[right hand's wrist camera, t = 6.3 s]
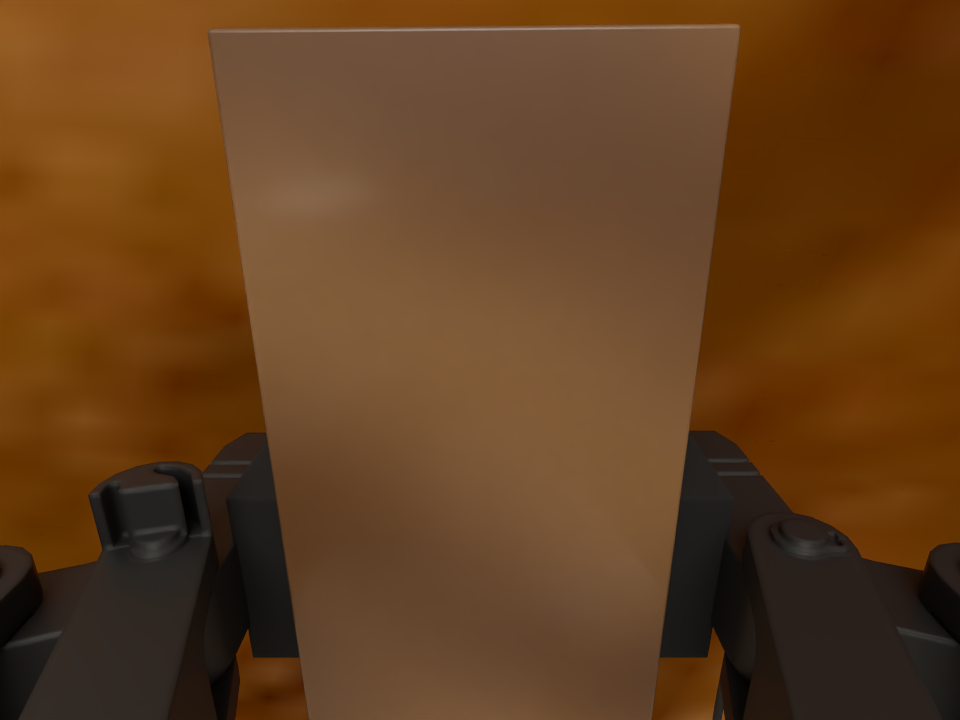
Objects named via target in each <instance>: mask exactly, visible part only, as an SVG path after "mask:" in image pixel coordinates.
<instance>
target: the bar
mask: <svg viewBox="0 0 960 720" xmlns="http://www.w3.org/2000/svg"><path fill="white" fill-rule="evenodd" d="M740 31H741V28H740V25H738V24H632V25H524V26H416V27H308V28H212V29H210V30H208V38H209V45H210V52H211V59H212V65H213V72H214V79H215V86H216V93H217V99H218V106H219V113H220V120H221V127H222V133H223V140H224V147H225V154H226V160H227V167H228V174H229V181H230V188H231V194H232V201H233V208H234V215H235V222H236V228H237V235H238V242H239V249H240V256H241V262H242V269H243V276H244V283H245V290H246V296H247V303H248V310H249V317H250V324H251V330H252V337H253V344H254V351H255V358H256V364H257V371H258V378H259V385H260V392H261V398H262V405H263V412H264V419H265V426H266V432H267V439H268V446H269V453H270V459H271V466H272V473H273V480H274V487H275V493H276V500H277V507H278V514H279V521H280V527H281V534H282V541H283V548H284V555H285V561H286V568H287V575H288V582H289V589H290V595H291V602H292V609H293V616H294V623H295V629H296V636H297V643H298V650H299V657H300V663H301V670H302V677H303V684H304V691H305V697H306V704H307V711H308V718H309V720H652V713H653V705H654V697H655V689H656V682H657V674H658V666H659V658H660V651H661V643H662V635H663V627H664V620H665V612H666V604H667V596H668V589H669V581H670V573H671V565H672V558H673V550H674V542H675V534H676V527H677V519H678V511H679V503H680V496H681V488H682V480H683V472H684V465H685V457H686V449H687V441H688V434H689V426H690V418H691V410H692V403H693V395H694V387H695V379H696V372H697V364H698V356H699V349H700V341H701V333H702V325H703V318H704V310H705V302H706V294H707V287H708V279H709V271H710V263H711V256H712V248H713V240H714V232H715V225H716V217H717V209H718V201H719V194H720V186H721V178H722V170H723V163H724V155H725V147H726V139H727V132H728V124H729V116H730V108H731V101H732V93H733V85H734V77H735V70H736V62H737V54H738V46H739V39H740Z"/></svg>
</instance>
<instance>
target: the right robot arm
mask: <svg viewBox="0 0 960 720" xmlns="http://www.w3.org/2000/svg"><path fill="white" fill-rule="evenodd" d="M88 497H89V500H90V504H91V508H92V512H93V515H94V519H95V523H96V526H97V530H98V534H99V538H100V541H101V545H102V549H103V550H102V552H101V554H100V556H99V558H98V560H97V561H95V562H92V563H88V564H83V565H78V566H73V567H68V568H63V569H58V570H53V571H48V572H43V573H37V570H36V567H35V563H34V560H33V557H32V554H30V553H29V552H28V551H26V550H25V549H24V548H22V547H15V546H7V545H4V546H0V720H235V716H236V708H237V700H238V692H239V684H240V677H239V669H238V664H237V658H236V653H237V651H238V649H239V647H240V645H241V642H242V640H243V638H244V636H245V634H246V632H247V630H249V636H250V642H251V647H252V653H253V657H299V650H298V643H297V636H296V629H295V623H294V616H293V609H292V602H291V595H290V589H289V582H288V575H287V568H286V561H285V555H284V548H283V541H282V534H281V527H280V521H279V514H278V507H277V500H276V493H275V487H274V480H273V473H272V466H271V459H270V453H269V446H268V439H267V433H246V434H244V435H242V436H241V437H239V438H237V439H236V440H234V441H232V442H231V443H229V444H227V445H226V446H225V447H224V448H223V449H222V450H221V451H220V453H219V454H218V455H217V456H216V457H215V459H214V460H213V461H212V465H209V466H208V467H207V468H206V470H205V471H204V472H203V473H202V471H201V470H199V469H198V468H197V467H195V466H194V465H193V464H188V463H183V462H178V461H175V462H156V463H151V464H146V465H141V466H137V467H134V468H131V469H128V470H126V471H123V472H120V473H117V474H115V475H114V476H112V477H110V478H108V479H107V480H105V481H103V482H102V483H100V484H99V485H98V486H97V487H96V488H95V489H94V490H93V491H92V492H91V493H90V494H89V495H88ZM712 628H714V630H715V632H716V634H717V636H718V638H719V640H720V642H721V644H722V647H723V649H724V651H725V653H724V658H723V664H722V669H721V674H720V680H719V685H718V690H717V696H716V701H715V706H714V713H713V720H721V719H722V714H723V709H724V714H725V720H960V543H949V544H942V545H938V546H937V547H936V548H934V549H933V550H932V551H930V553H929V556H928V559H927V563H926V566H925V569H924V571H921V570H916V569H911V568H906V567H901V566H896V565H891V564H886V563H881V562H876V561H872V560H868V559H864V558H862V557H861V555H860V553H859V551H858V549H857V548H856V547H855V546H854V544H853V543H852V542H851V541H850V539H849V538H848V537H847V536H846V535H844V534H843V533H841V532H840V531H838V530H837V529H835V528H834V527H832V526H831V525H829V524H826V523H824V522H822V521H819V520H817V519H814V518H812V517H809V516H804V515H800V514H796V513H793V512H792V511H791V510H790V508H789V507H788V506H787V505H786V504H785V502H784V501H783V500H782V499H781V498H780V496H779V495H778V494H777V493H776V492H775V490H774V489H773V488H772V487H771V486H770V484H769V483H768V482H767V481H766V480H765V478H764V477H763V476H760V472H759V471H758V470H757V469H756V467H755V466H754V465H753V464H752V463H749V459H748V458H747V457H746V455H745V454H744V453H743V452H742V451H741V449H740V448H739V447H738V446H737V445H736V444H735V443H733V442H732V441H730V440H729V439H727V438H725V437H724V436H722V435H720V434H719V433H717V432H715V431H689V434H688V441H687V449H686V457H685V465H684V472H683V480H682V488H681V496H680V503H679V511H678V519H677V527H676V534H675V542H674V550H673V558H672V565H671V573H670V581H669V589H668V596H667V604H666V612H665V620H664V627H663V635H662V643H661V651H660V657H707V656H708V651H709V645H710V639H711V633H712Z"/></svg>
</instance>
